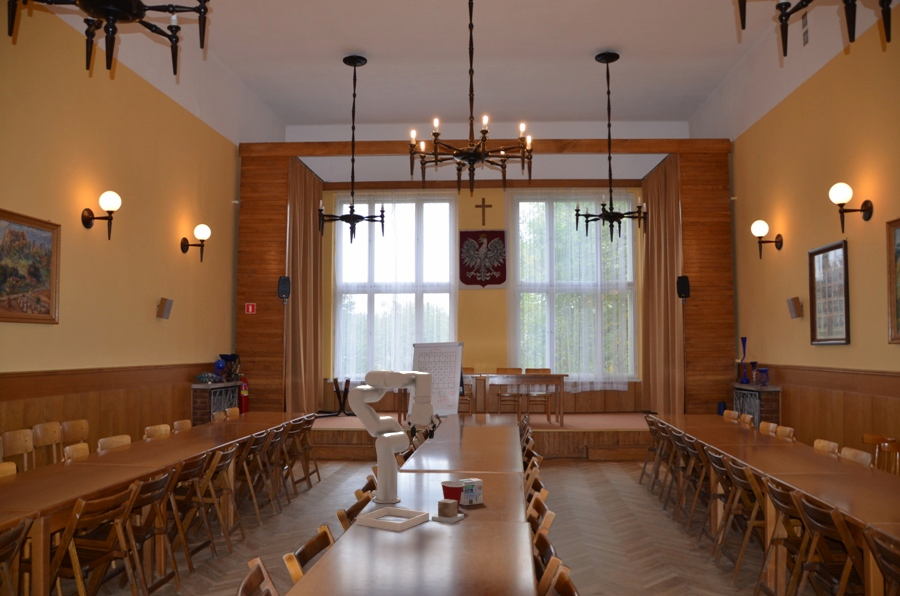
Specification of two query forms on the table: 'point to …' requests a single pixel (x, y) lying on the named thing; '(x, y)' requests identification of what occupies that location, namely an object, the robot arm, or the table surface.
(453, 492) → the plastic cup
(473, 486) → the light bulb box
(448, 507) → the walnut block
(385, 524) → the beige square frame
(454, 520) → the display stand
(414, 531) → the table surface
